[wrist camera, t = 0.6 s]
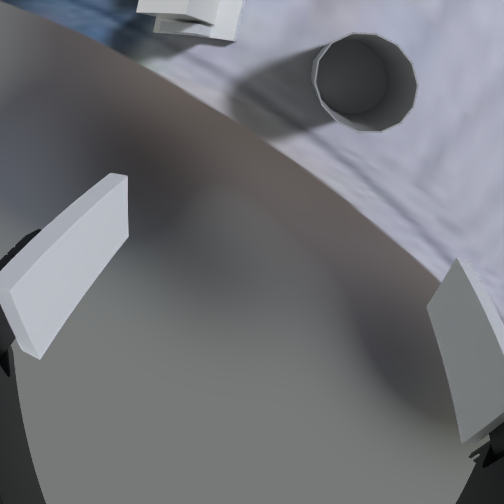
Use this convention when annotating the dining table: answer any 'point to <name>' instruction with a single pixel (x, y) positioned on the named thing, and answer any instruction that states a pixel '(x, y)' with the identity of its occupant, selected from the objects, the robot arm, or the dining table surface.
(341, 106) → the cup
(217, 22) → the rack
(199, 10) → the block
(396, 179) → the dining table surface
